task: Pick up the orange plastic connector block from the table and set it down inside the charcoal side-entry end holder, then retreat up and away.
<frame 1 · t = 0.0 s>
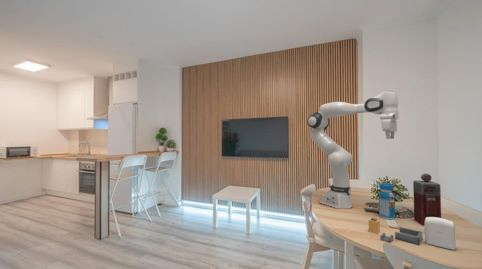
hand: (390, 138, 137), 48 cm above the table, fingers open, 8 cm apart
dark red decanter: (428, 224, 124), on the table
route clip: (386, 239, 105), on the table
beverage bottle: (387, 217, 135), on the table
end holder: (408, 238, 106), on the table
photo printer: (439, 246, 99), on the table
connector: (374, 231, 114), on the table
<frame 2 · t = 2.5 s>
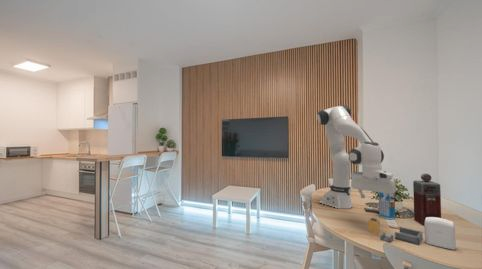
hand: (372, 199, 114), 16 cm above the table, fingers open, 8 cm apart
nothing on the table moved.
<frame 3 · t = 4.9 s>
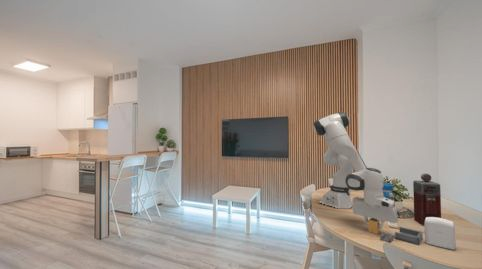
hand: (374, 226, 114), 3 cm above the table, fingers closed on connector, 4 cm apart
connector: (374, 231, 114), on the table, touching gripper
everything else where it was.
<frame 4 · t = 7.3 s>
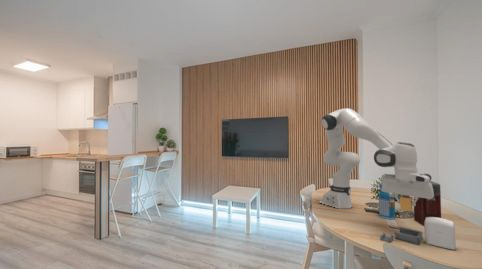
hand: (406, 204, 107), 16 cm above the table, fingers closed on connector, 4 cm apart
connector: (406, 209, 107), point 14 cm above the table, touching gripper
everything else where it was.
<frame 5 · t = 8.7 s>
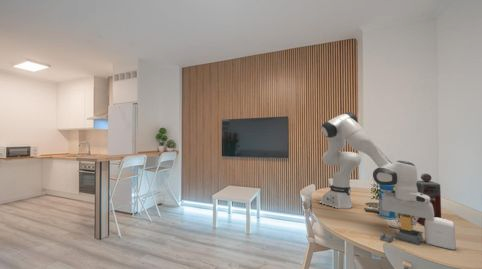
hand: (406, 223, 106), 7 cm above the table, fingers closed on connector, 4 cm apart
connector: (406, 228, 106), point 5 cm above the table, touching gripper
everything else where it was.
when the fingers open (5 cm above the table, at t = 9.9 s): connector drops 2 cm, resting on end holder.
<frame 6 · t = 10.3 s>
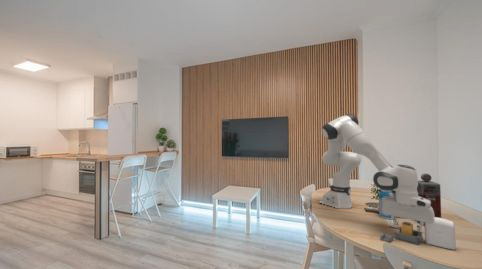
hand: (407, 227, 107), 5 cm above the table, fingers open, 8 cm apart
photo printer: (439, 246, 99), on the table, touching gripper
connector: (407, 236, 106), point 1 cm above the table, touching end holder
everything else where it was.
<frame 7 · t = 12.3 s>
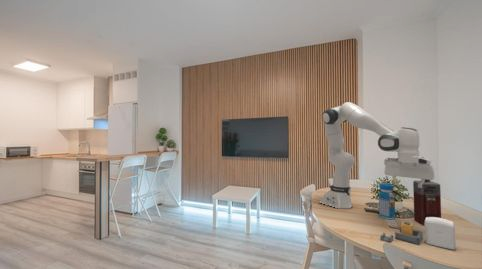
hand: (408, 186, 112), 24 cm above the table, fingers open, 8 cm apart
photo printer: (439, 246, 99), on the table
everything else where it was.
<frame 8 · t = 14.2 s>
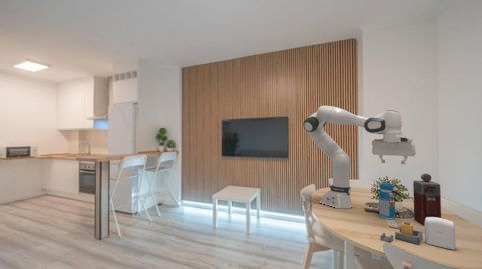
hand: (393, 163, 124), 34 cm above the table, fingers open, 8 cm apart
nothing on the table moved.
at the end: connector inside the target area on the end holder (0.2 cm from its centre), point 0.8 cm above the end holder's base; connector tilted 0°; the gripper is holding nothing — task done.
